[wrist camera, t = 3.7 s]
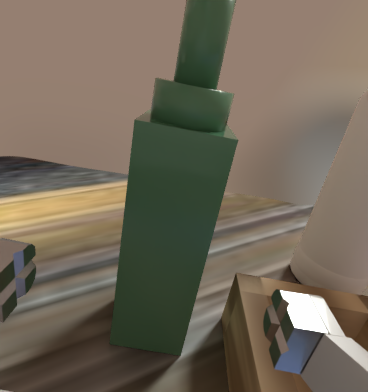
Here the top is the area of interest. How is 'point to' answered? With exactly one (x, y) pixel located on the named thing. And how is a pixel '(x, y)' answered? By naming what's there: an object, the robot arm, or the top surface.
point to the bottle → (340, 217)
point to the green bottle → (175, 188)
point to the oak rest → (259, 345)
